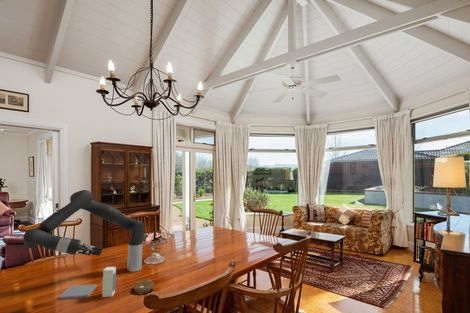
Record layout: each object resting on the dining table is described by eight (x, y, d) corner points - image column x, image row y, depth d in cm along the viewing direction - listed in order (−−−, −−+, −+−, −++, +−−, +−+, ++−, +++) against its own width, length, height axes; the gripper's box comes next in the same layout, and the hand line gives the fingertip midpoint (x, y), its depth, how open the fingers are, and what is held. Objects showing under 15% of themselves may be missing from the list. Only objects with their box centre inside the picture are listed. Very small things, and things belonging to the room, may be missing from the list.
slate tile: (70, 287, 152) (70, 285, 152) (96, 286, 155) (96, 284, 155) (58, 299, 138) (58, 296, 139) (87, 297, 141) (87, 295, 141)
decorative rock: (133, 286, 157) (134, 298, 143) (133, 279, 157) (133, 290, 143) (153, 282, 161) (156, 293, 148) (153, 275, 161) (155, 286, 148)
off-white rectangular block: (105, 292, 146) (106, 267, 147) (115, 292, 147) (116, 266, 148) (102, 297, 141) (103, 270, 142) (112, 296, 142) (113, 270, 143)
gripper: (68, 240, 132) (102, 247, 137) (73, 236, 145) (104, 242, 150) (62, 256, 130) (97, 262, 135) (68, 250, 143) (99, 256, 148)
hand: (101, 252), depth 143 cm, fingers open, 8 cm apart
